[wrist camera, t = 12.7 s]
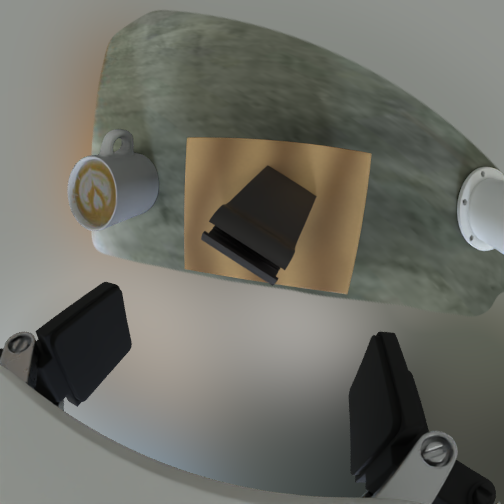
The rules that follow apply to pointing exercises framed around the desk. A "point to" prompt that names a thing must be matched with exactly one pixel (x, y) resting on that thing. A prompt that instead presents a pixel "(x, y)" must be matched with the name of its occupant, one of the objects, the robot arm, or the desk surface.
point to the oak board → (298, 170)
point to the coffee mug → (112, 184)
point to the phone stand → (262, 224)
